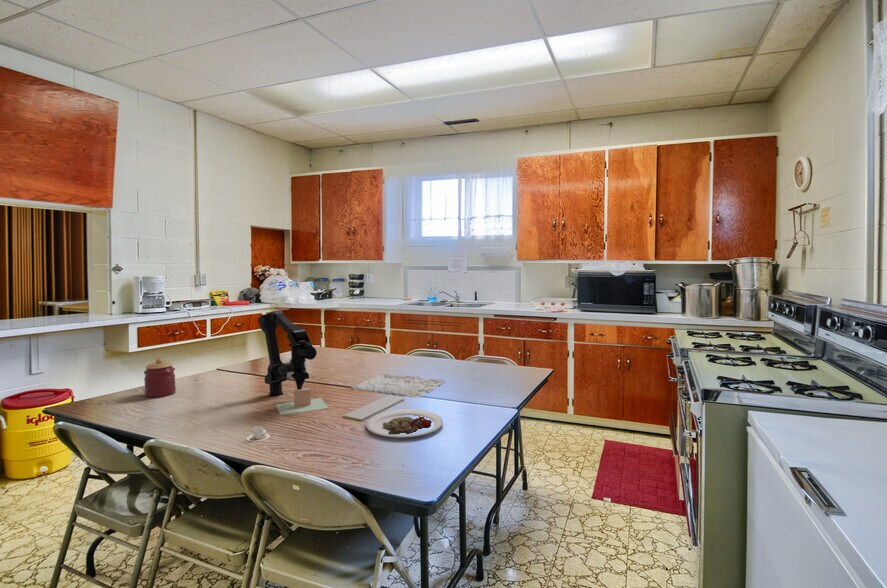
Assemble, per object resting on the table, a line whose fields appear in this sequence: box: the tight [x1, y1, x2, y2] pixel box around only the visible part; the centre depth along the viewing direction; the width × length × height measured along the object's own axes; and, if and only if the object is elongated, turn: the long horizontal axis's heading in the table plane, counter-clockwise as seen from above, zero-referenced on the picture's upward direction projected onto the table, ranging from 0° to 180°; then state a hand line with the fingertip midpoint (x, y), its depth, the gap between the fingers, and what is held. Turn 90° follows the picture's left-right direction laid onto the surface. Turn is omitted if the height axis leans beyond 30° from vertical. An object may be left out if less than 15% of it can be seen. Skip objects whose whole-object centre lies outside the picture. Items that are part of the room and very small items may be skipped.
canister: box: [143, 358, 177, 399], centre depth 223 cm, size 13×13×18 cm
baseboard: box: [341, 394, 405, 422], centre depth 201 cm, size 31×3×12 cm
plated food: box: [365, 408, 444, 439], centre depth 179 cm, size 30×30×3 cm
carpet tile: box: [350, 373, 446, 398], centre depth 237 cm, size 39×30×2 cm
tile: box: [292, 387, 312, 407], centre depth 204 cm, size 2×7×7 cm, turn 117°
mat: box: [275, 397, 329, 416], centre depth 203 cm, size 16×20×1 cm
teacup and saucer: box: [246, 426, 270, 443], centre depth 169 cm, size 9×8×4 cm
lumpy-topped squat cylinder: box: [284, 358, 308, 379], centre depth 258 cm, size 10×13×9 cm
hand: (299, 390), depth 209 cm, fingers closed
